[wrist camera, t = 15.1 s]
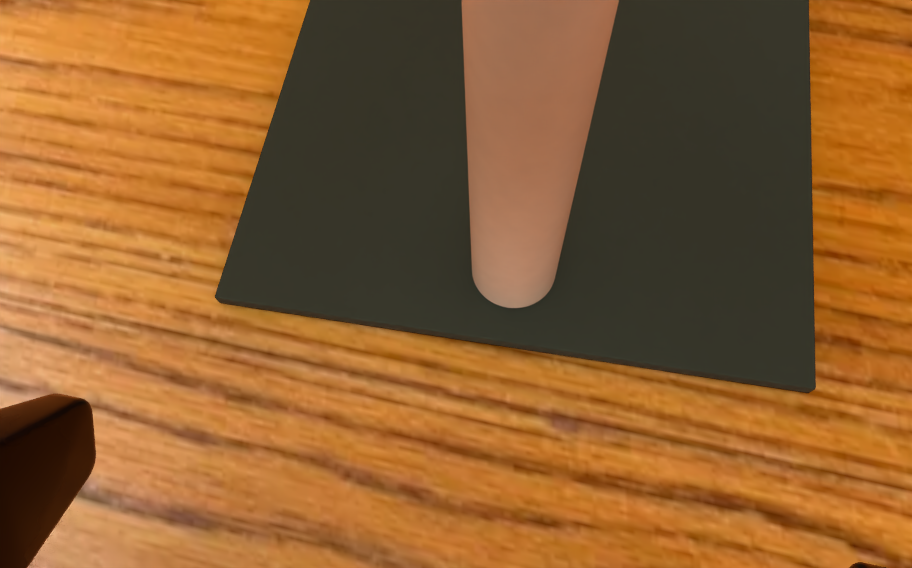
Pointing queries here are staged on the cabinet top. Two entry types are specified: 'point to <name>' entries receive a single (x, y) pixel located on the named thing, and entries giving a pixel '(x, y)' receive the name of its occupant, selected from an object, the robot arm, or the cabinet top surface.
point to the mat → (594, 203)
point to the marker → (527, 133)
